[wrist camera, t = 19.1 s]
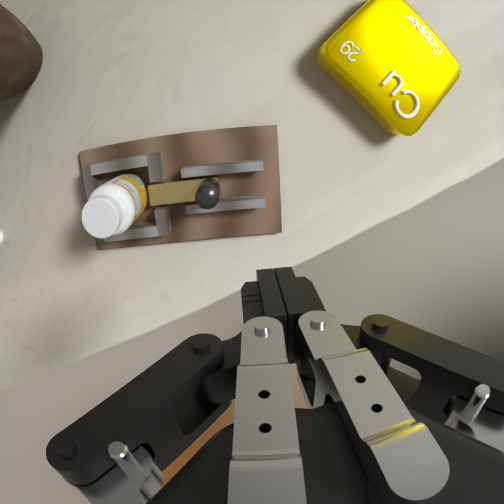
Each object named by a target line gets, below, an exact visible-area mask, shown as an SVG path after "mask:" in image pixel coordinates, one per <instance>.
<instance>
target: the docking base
mask: <svg viewBox="0 0 504 504" xmlns="http://www.w3.org/2000/svg"><path fill="white" fill-rule="evenodd" d="M79 154H80V161H81V168H82V174H83V181H84V186H85V192H86V197H87V202H88V199H89V197H90V195H91V193H92V192H93V191H94V190H95V189H96V188H98V187H99V186H101V185H103V184H105V183H106V182H108V181H110V180H112V179H114V178H116V177H117V176H120V175H122V174H134V175H137V176H139V177H140V178H141V179H142V180H143V181H144V182H145V183H146V185H147V187H148V185H149V184H150V183H154V182H162V181H170V180H178V179H186V178H195V177H205V176H215V175H218V178H219V184H220V188H221V190H220V199H219V202H218V204H217V205H216V206H215V207H214V208H212V209H202V208H201V207H199V206H198V205H197V203H196V201H190V202H181V203H172V204H163V205H155V206H150V199H149V201H148V205H147V207H146V208H145V210H144V211H143V212H142V213H141V214H140V216H139V217H138V218H137V219H136V220H135V221H134V222H133V223H132V225H131V226H130V227H129V228H128V229H127V230H126V231H124V232H123V233H121V234H118V235H111V236H110V237H107V238H96V237H95V240H96V244H97V248H98V250H99V249H108V248H118V247H128V246H137V245H147V244H158V243H168V242H178V241H189V240H200V239H210V238H222V237H233V236H244V235H256V234H268V233H280V232H282V226H281V200H280V177H279V156H278V138H277V125H272V126H253V127H239V128H226V129H216V130H206V131H197V132H188V133H180V134H173V135H166V136H159V137H153V138H147V139H141V140H135V141H129V142H124V143H119V144H113V145H108V146H104V147H99V148H94V149H90V150H85V151H81V152H79Z"/></svg>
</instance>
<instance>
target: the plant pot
mask: <svg viewBox="0 0 504 504" xmlns="http://www.w3.org/2000/svg"><path fill="white" fill-rule="evenodd" d="M41 65H42V49H41V47H40V45H39V44H38V42H37V41H36V39H35V38H34V36H33V35H32V34H31V32H30V31H29V30H28V29H27V28H26V27H25V26H24V24H23V23H22V22H21V21H20V20H19V19H18V18H17V17H16V16H14V15H13V14H12V13H11V12H10V11H9V10H7V9H6V8H5V7H3V6H2V5H1V4H0V102H2V101H4V100H6V99H8V98H10V97H12V96H13V95H15V94H17V93H19V92H20V91H22V90H24V89H25V88H27V87H28V86H29V85H30V84H31V83H32V82H33V81H34V80H35V78H36V77H37V75H38V73H39V71H40V68H41Z"/></svg>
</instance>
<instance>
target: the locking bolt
mask: <svg viewBox="0 0 504 504" xmlns="http://www.w3.org/2000/svg"><path fill="white" fill-rule="evenodd" d="M220 190H221V188H220V184H219V178H218V175H215V176H205V177H195V178H186V179H178V180H170V181H162V182H154V183H150V184H149V185H148V193H149V199H150V206H155V205H163V204H172V203H181V202H190V201H196V203H197V205H198V206H199V207H201V208H202V209H212V208H214V207H215V206H216V205H217V204H218V202H219V199H220Z"/></svg>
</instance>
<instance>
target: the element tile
mask: <svg viewBox="0 0 504 504" xmlns="http://www.w3.org/2000/svg"><path fill="white" fill-rule="evenodd" d="M316 59H317V62H318V64H319V66H320V67H321V68H322V69H323V70H324V71H325V72H326V73H327V74H328V75H330V76H331V77H332V78H333V79H334V80H335V81H336V82H337V83H338V84H339V85H340V86H342V87H343V88H344V89H345V90H346V91H347V92H348V93H349V94H350V95H351V96H352V97H353V98H354V99H355V100H356V101H357V102H358V103H359V104H360V105H361V106H362V107H363V108H364V109H365V110H366V111H367V112H368V113H369V114H370V115H371V116H372V117H373V118H374V119H375V120H376V121H377V122H378V123H379V124H380V126H381V127H382V128H383V129H384V130H386V131H387V132H389V133H391V134H398V135H405V136H410V135H412V134H415V133H416V132H417V131H418V130H419V129H420V127H421V126H422V125H423V124H424V122H425V121H426V120H427V119H428V117H429V116H430V115H431V114H432V112H433V111H434V110H435V108H436V107H437V106H438V105H439V103H440V102H441V101H442V99H443V98H444V97H445V96H446V94H447V93H448V92H449V90H450V89H451V88H452V86H453V85H454V84H455V82H456V81H457V80H458V78H459V75H460V67H459V64H458V62H457V60H456V59H455V57H454V56H453V55H452V53H451V52H450V51H449V49H448V48H447V47H446V46H445V44H444V43H443V42H442V41H441V39H440V38H439V37H438V36H437V35H436V34H435V32H434V31H433V30H432V29H431V28H430V27H429V26H428V24H427V23H426V22H425V21H424V20H423V19H422V18H421V17H420V16H419V15H418V14H417V12H416V11H415V10H414V9H413V8H412V7H411V6H410V5H409V4H408V3H407V2H406V1H405V0H368V1H366V2H365V3H364V4H363V5H362V6H361V7H360V8H359V9H358V10H357V11H356V12H355V13H354V14H352V15H351V16H350V17H349V18H348V19H347V20H346V21H345V22H344V23H343V24H342V25H341V26H340V27H339V28H338V29H337V30H336V31H335V32H334V33H333V34H332V35H331V36H330V37H329V38H328V39H327V40H326V41H325V42H324V43H323V44H322V45H321V46H320V47H319V48H318V50H317V54H316Z"/></svg>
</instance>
